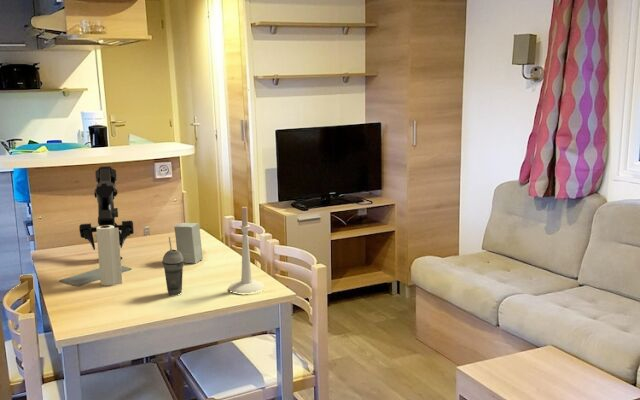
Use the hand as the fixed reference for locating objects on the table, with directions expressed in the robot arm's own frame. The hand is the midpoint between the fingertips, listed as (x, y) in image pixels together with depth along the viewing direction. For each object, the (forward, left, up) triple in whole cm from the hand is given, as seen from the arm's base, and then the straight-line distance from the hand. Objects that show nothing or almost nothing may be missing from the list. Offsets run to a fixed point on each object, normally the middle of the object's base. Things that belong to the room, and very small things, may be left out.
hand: (107, 248), depth 217 cm
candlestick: (-20, +48, -13) cm, 54 cm away
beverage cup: (-3, +30, -13) cm, 33 cm away
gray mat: (-2, -11, -13) cm, 17 cm away
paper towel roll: (+2, +2, -13) cm, 13 cm away
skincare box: (-34, +6, -13) cm, 37 cm away
